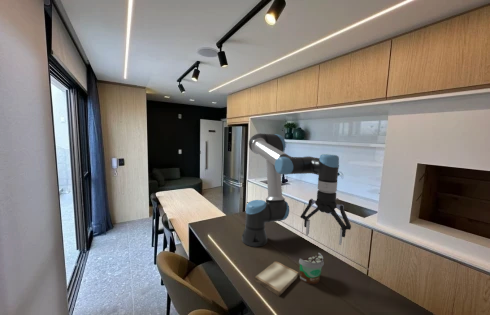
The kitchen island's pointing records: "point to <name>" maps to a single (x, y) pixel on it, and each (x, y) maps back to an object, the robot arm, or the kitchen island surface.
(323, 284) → the kitchen island surface
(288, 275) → the board
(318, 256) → the food container
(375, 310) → the kitchen island surface
